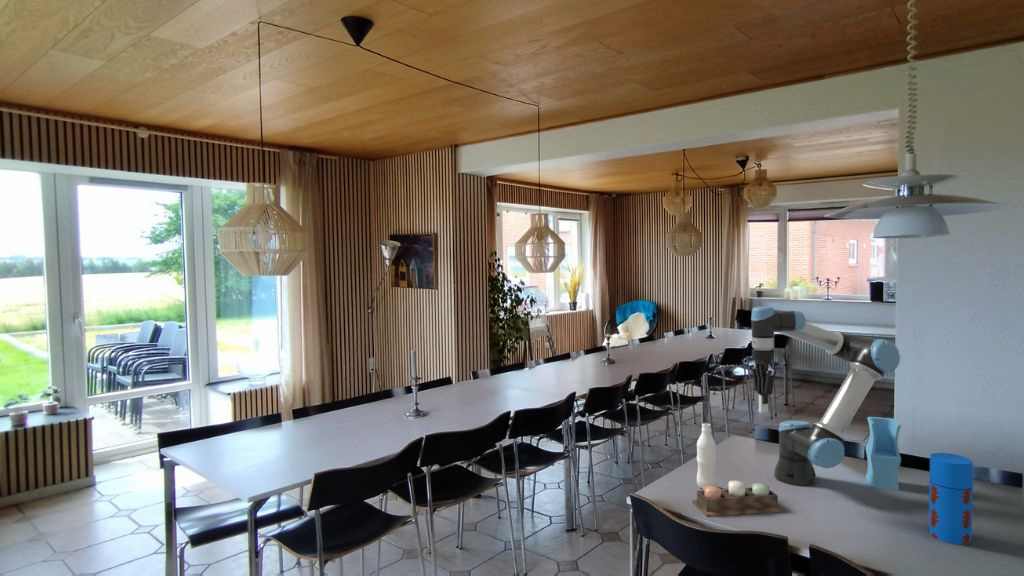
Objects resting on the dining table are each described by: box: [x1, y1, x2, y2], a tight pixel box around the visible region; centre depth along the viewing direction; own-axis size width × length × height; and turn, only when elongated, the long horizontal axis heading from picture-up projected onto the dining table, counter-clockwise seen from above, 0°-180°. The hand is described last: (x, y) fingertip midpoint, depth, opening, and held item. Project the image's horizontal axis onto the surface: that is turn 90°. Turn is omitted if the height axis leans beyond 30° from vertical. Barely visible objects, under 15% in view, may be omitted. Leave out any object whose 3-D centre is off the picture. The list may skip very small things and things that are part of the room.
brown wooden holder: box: [691, 487, 784, 517], centre depth 205 cm, size 28×12×5 cm, turn 96°
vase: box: [865, 416, 902, 491], centre depth 224 cm, size 10×10×25 cm
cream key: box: [728, 480, 746, 497], centre depth 205 cm, size 6×6×5 cm
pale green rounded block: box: [751, 482, 770, 496], centre depth 206 cm, size 6×6×5 cm
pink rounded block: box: [705, 486, 721, 499], centre depth 204 cm, size 6×6×5 cm
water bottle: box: [696, 422, 717, 490], centre depth 222 cm, size 7×7×25 cm
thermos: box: [928, 452, 974, 545], centre depth 181 cm, size 11×11×25 cm
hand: (763, 411), depth 213 cm, fingers closed
